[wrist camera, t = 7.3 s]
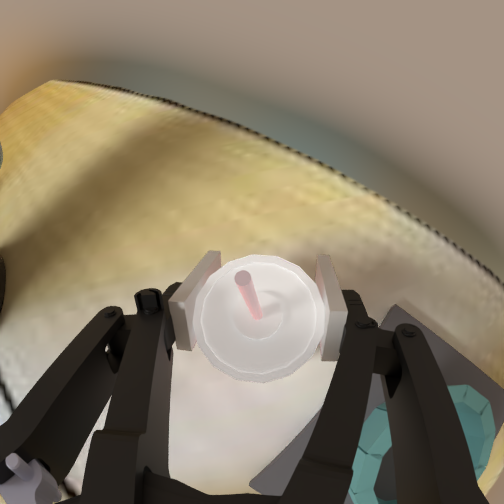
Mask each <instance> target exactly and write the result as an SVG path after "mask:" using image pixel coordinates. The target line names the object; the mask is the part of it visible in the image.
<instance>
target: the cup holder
mask: <svg viewBox="0 0 504 504" xmlns="http://www.w3.org/2000/svg"><path fill="white" fill-rule="evenodd" d="M403 323H408V324H413V325H415V326H417V327H418V328H420V329H421V331H422V332H423V334H424V336H425V338H426V340H427V342H428V344H429V346H430V349H431V351H432V353H433V355H434V357H435V359H436V362H437V364H438V366H439V368H440V371H441V373H442V375H443V378H444V380H445V382H446V385H447V387H448V390H449V392H450V395H451V397H452V400H453V403H454V405H455V408H456V411H457V413H458V416H459V419H460V422H461V425H462V428H463V431H464V434H465V437H466V441H467V444H468V447H469V451H470V455H471V458H472V462H473V466H474V470H475V474H476V479H477V480H478V479H479V478H480V476H481V475H482V473H483V471H484V470H485V468H486V467H485V466H487V464H488V460H489V457H490V453H491V450H492V446H493V442H494V440H495V438H496V436H497V434H498V432H499V430H500V428H501V426H502V424H503V422H504V389H503V388H501V387H500V386H499V385H498V384H497V383H496V382H494V381H493V380H492V379H491V378H490V377H488V376H487V375H486V374H485V373H484V372H482V371H481V370H480V369H479V368H478V367H476V366H475V365H474V364H473V363H471V362H470V361H469V360H468V359H467V358H465V357H464V356H463V355H462V354H460V353H459V352H458V351H457V350H455V349H454V348H453V347H451V346H450V345H449V344H448V343H446V342H445V341H444V340H442V339H441V338H440V337H439V336H437V335H436V334H435V333H433V332H432V331H431V330H429V329H428V328H427V327H426V326H424V325H423V324H422V323H420V322H419V321H418V320H416V319H415V318H414V317H412V316H411V315H410V314H408V313H407V312H406V311H404V310H403V309H401V308H400V307H399V306H397V305H396V304H395V305H394V306H393V307H391V309H390V310H389V312H388V314H387V316H386V317H385V319H384V321H383V322H382V324H381V325H380V327H379V328H380V329H384V330H388V331H395V328H396V327H397V325H399V324H403ZM321 409H322V408H321ZM321 409H320V410H319V411H318V413H317V414H316V415H315V416H314V417H313V418H312V420H311V421H310V422H309V423H308V424H307V425H306V426H305V428H304V429H303V430H302V431H301V432H300V433H299V434H298V435H297V436H296V437H295V438H294V440H293V441H292V442H291V443H290V444H289V445H288V446H287V447H286V448H285V449H284V450H283V451H282V452H281V453H280V454H279V455H278V456H277V457H276V458H275V459H274V460H273V461H272V462H271V463H270V464H269V465H268V466H266V467H265V468H264V469H263V470H262V471H261V472H260V473H259V474H258V475H257V476H256V477H254V478H253V479H252V480H251V481H250V483H249V486H250V487H251V488H253V489H254V490H256V491H258V492H259V493H261V494H262V495H274V496H282V494H283V492H284V490H285V488H286V487H287V485H288V483H289V481H290V479H291V477H292V474H293V472H294V470H295V468H296V466H297V464H298V462H299V460H300V459H301V458H302V456H303V453H304V451H305V449H306V447H307V444H308V442H309V439H310V437H311V435H312V432H313V430H314V427H315V425H316V422H317V420H318V417H319V414H320V412H321ZM352 469H353V471H354V472H353V477H352V481H351V484H350V487H349V490H348V493H347V496H346V499H345V502H344V504H397V494H396V479H395V468H394V458H393V450H392V442H391V435H390V428H389V421H388V415H387V409H386V404H385V398H384V393H383V388H382V383H381V378H380V374H375V373H373V374H372V381H371V387H370V393H369V398H368V404H367V409H366V414H365V418H364V423H363V427H362V432H361V436H360V440H359V444H358V448H357V452H356V455H355V459H354V462H353V466H352Z"/></svg>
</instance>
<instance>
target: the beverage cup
mask: <svg viewBox="0 0 504 504" xmlns="http://www.w3.org/2000/svg"><path fill="white" fill-rule="evenodd" d="M324 320H325V306H324V303H323V301H322V298H321V295H320V293H319V290H318V287H317V285H316V283H315V282H314V281H313V280H312V279H311V278H310V277H309V276H308V275H307V274H306V273H305V272H304V271H303V270H302V269H301V268H300V266H298V265H295V264H293V263H291V262H289V261H287V260H285V259H282V258H280V257H278V256H268V255H249V256H246V257H243V258H239V259H236V260H232V261H229V262H228V263H227V264H225V265H224V266H223V267H221V268H220V269H219V270H217V271H216V272H215V273H213V274H212V275H211V276H209V278H208V280H207V281H206V283H205V284H204V286H203V288H202V289H201V291H200V292H199V294H198V296H197V298H196V303H195V309H194V316H193V326H194V331H195V335H196V340H197V344H198V346H199V348H200V349H201V351H202V352H203V353H204V355H205V356H206V358H207V359H208V360H209V362H210V363H211V364H212V366H213V367H215V368H217V369H218V370H220V371H222V372H223V373H225V374H227V375H229V376H230V377H232V378H234V379H236V380H241V381H249V382H257V383H266V382H270V381H273V380H277V379H280V378H283V377H287V376H290V375H291V374H293V373H294V372H295V371H296V370H298V369H299V368H300V367H301V366H302V365H304V364H305V363H306V362H307V361H308V360H310V359H311V358H312V356H313V354H314V352H315V350H316V348H317V346H318V344H319V342H320V340H321V338H322V336H323V334H324Z"/></svg>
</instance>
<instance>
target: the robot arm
mask: <svg viewBox="0 0 504 504" xmlns="http://www.w3.org/2000/svg"><path fill="white" fill-rule="evenodd" d="M2 161H3V151H2V146H1V143H0V168H1V165H2ZM220 268H221V253H220V251H208V252H207V254H206V255H205V256H204V257H203V258H202V260H201V261H200V262H199V263H198V265H197V266H196V267H195V268H194V269H193V271H192V272H191V273H190V274H189V276H188V277H187V278H186V279H185V280H184V282H183V283H180V282H176V283H174V284H172V285H170V286H169V287H168V288H167V289H166V291H165V292H164V293H163V294H162V293H161V291H160V290H158V289H154V288H149V289H144V290H141V291H139V292H137V293H136V294H135V295H134V297H135V302H136V306H137V314H135V315H123V311H122V309H121V308H120V307H117V306H110V307H106V308H104V309H102V310H101V311H99V312H98V314H97V315H96V316H95V317H94V318H93V319H92V320H91V321H90V322H89V323H88V324H87V325H86V326H85V327H84V328H83V330H82V331H81V332H80V333H79V334H78V335H77V336H76V337H75V338H74V339H73V341H72V342H71V343H70V344H69V345H68V346H67V347H66V348H65V350H64V351H63V352H62V353H61V354H60V355H59V356H58V358H57V359H56V360H55V361H54V362H53V363H52V365H51V366H50V367H49V368H48V369H47V371H46V372H45V373H44V374H43V375H42V377H41V378H40V379H39V380H38V381H37V383H36V384H35V385H34V386H33V388H32V389H31V390H30V391H29V393H28V394H27V395H26V397H25V398H24V399H23V400H22V402H21V403H20V404H19V406H18V407H17V408H16V410H15V411H14V412H13V414H12V415H11V416H10V418H9V419H8V420H7V421H6V422H5V423H4V424H2V425H1V426H0V494H1V495H2V497H3V499H4V500H5V502H6V503H7V504H52V503H53V502H58V503H55V504H344V502H345V499H346V496H347V493H348V490H349V487H350V484H351V481H352V477H353V472H354V471H353V469H352V466H353V462H354V459H355V455H356V452H357V448H358V444H359V440H360V436H361V432H362V427H363V423H364V418H365V414H366V409H367V404H368V398H369V393H370V387H371V381H372V374H373V373H375V374H380V378H381V383H382V388H383V393H384V398H385V404H386V409H387V415H388V421H389V428H390V435H391V442H392V450H393V458H394V468H395V479H396V494H397V504H489V502H488V501H487V499H486V498H485V496H484V494H483V493H482V491H481V490H480V488H479V487H478V483H477V479H476V474H475V470H474V466H473V462H472V458H471V455H470V451H469V447H468V444H467V441H466V437H465V434H464V431H463V428H462V425H461V422H460V419H459V416H458V413H457V411H456V408H455V405H454V403H453V400H452V397H451V395H450V392H449V390H448V387H447V385H446V382H445V380H444V378H443V375H442V373H441V371H440V368H439V366H438V364H437V362H436V359H435V357H434V355H433V353H432V351H431V349H430V346H429V344H428V342H427V340H426V338H425V336H424V334H423V332H422V331H421V329H420V328H418V327H417V326H415V325H413V324H408V323H403V324H399V325H397V327H396V328H395V331H388V330H384V329H380V328H378V324H377V322H376V321H375V320H374V319H372V318H370V317H368V314H367V312H366V309H365V307H364V305H363V302H362V301H361V298H360V295H359V294H358V293H357V292H355V291H354V290H341V288H340V285H339V282H338V279H337V276H336V273H335V270H334V267H333V265H332V262H331V259H330V256H329V255H317V263H316V275H315V283H316V285H317V287H318V290H319V293H320V295H321V298H322V301H323V303H324V306H325V320H324V334H323V336H322V338H321V340H320V351H321V361H338V362H337V365H336V368H335V371H334V374H333V377H332V380H331V383H330V386H329V389H328V392H327V395H326V398H325V401H324V404H323V406H322V409H321V412H320V414H319V417H318V420H317V422H316V425H315V427H314V430H313V432H312V435H311V437H310V439H309V442H308V444H307V447H306V449H305V451H304V453H303V456H302V458H301V459H300V460H299V462H298V464H297V466H296V468H295V470H294V472H293V474H292V477H291V479H290V481H289V483H288V485H287V487H286V488H285V490H284V492H283V494H282V496H274V495H260V494H249V493H245V494H231V495H208V494H205V493H203V492H200V491H198V490H196V489H194V488H192V487H190V486H188V485H186V484H184V483H182V482H180V481H178V480H175V479H171V478H170V475H169V469H168V443H169V412H170V392H171V377H172V364H173V349H172V345H173V343H174V341H176V346H177V349H180V350H186V351H192V350H193V348H194V346H195V344H196V342H197V340H196V335H195V331H194V326H193V316H194V309H195V303H196V298H197V296H198V294H199V292H200V291H201V289H202V288H203V286H204V284H205V283H206V281H207V280H208V278H209V276H211V275H212V274H213V273H215V272H216V271H217V270H219V269H220ZM4 288H5V266H4V261H3V259H2V257H1V255H0V311H1V306H2V302H3V296H4ZM106 346H108V350H107V352H105V348H106ZM339 353H340V355H339ZM338 357H339V358H338ZM111 395H112V397H111ZM110 397H111V401H110V405H109V409H108V413H107V417H106V421H105V426H104V429H103V430H96V431H95V432H94V433H93V436H92V439H91V443H90V448H89V453H88V458H87V463H86V468H85V473H84V479H83V485H82V492H81V495H78V496H75V497H73V498H70V499H67V500H64V501H61V502H59V501H60V500H61V497H62V495H61V492H60V491H59V490H58V486H59V485H60V484H61V483H62V481H63V480H64V479H65V477H66V476H67V475H68V473H69V472H70V470H71V468H72V467H73V465H74V463H75V461H76V459H77V457H78V455H79V453H80V451H81V449H82V448H83V446H84V444H85V442H86V440H87V438H88V436H89V434H90V433H91V431H92V429H93V427H94V425H95V423H96V422H97V420H98V418H99V416H100V414H101V413H102V411H103V409H104V407H105V406H106V404H107V402H108V400H109V399H110Z"/></svg>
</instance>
